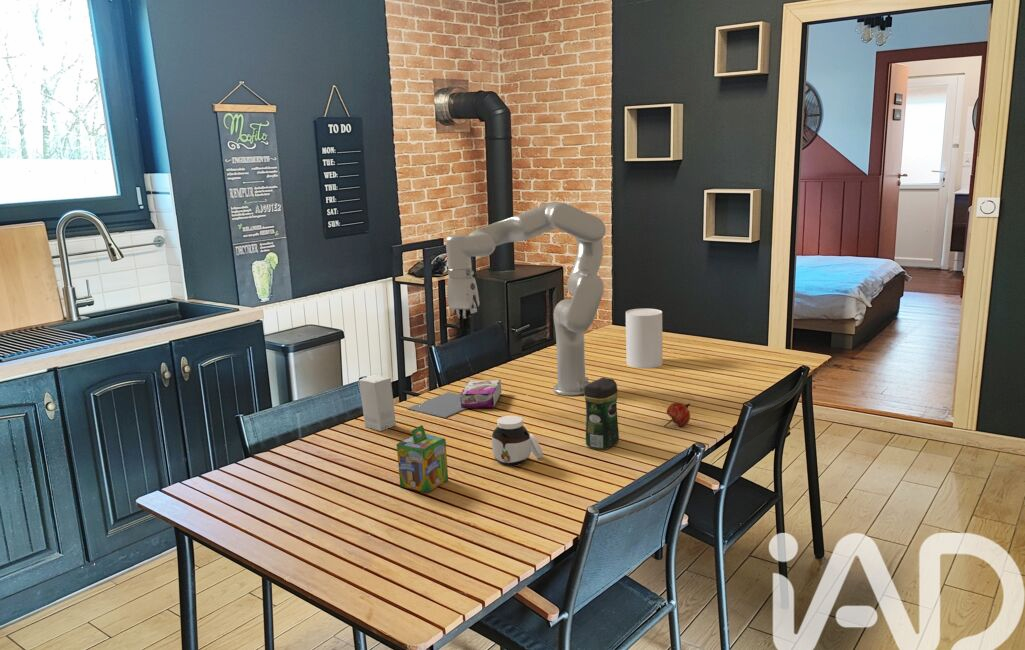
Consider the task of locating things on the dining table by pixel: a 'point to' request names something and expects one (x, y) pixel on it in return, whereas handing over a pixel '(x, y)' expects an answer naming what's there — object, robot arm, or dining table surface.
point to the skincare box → (377, 402)
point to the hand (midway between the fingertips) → (465, 329)
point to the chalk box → (422, 461)
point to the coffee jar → (601, 413)
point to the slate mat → (441, 405)
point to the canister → (644, 338)
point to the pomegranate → (679, 414)
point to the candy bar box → (480, 393)
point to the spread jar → (513, 442)
